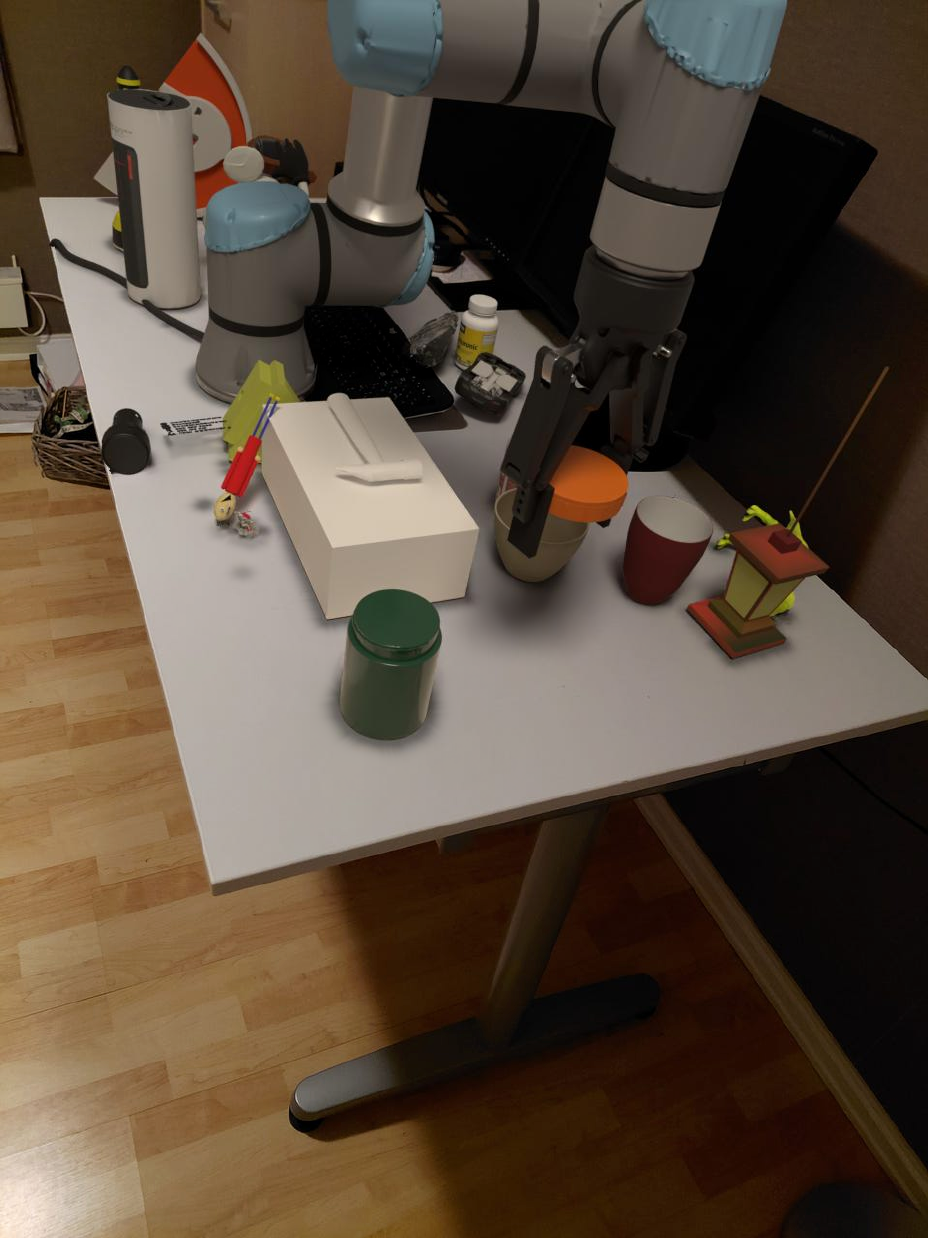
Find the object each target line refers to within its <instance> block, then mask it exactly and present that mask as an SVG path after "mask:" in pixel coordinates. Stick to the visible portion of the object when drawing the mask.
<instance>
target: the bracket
mask: <svg viewBox="0 0 928 1238" xmlns="http://www.w3.org/2000/svg"><path fill="white" fill-rule="evenodd" d="M269 393H271V394H273V395H275V397H279V398H280V399H281V400H280V401H278V402H277V404H281V403H299V402H301V401H299V399H298V398H297V396H296V394H295V393H294V391H293V390H292V388H291V386H290V385H289V383H288V382H287V380H286V378H285V375H284V367H283V364H281V363H280V362H278V361H276V360H274V361H272V362H271V364H270V365H268V364H266V363H264V362H262V361H260V360H258V362H257V363H256V365H255V367H254V368H253V370H252V372H251V373H250V375H249V376H248V378H247V380H246V381H245V383H244V385H243V386H242V388H241V389H240V391H239V393H238V394H237V396H236V398H235V399H234V401H233V403H230V406H229V407H228V409H227V411H226V412H225V414H224V416H223V417H222V421H224V420H225V421H226V420H227V421H226V422H225V421H224V422H222V427H225V429H222V440H223V441H225V442H226V443H227V450H228V451H227V452H228V453H227V456H228V461H230V462H232V461H233V459H234V457H235V455H236V453H237V448H238V447H243V449H244V447H245V445H246V443H247V440H248V438H249V436H250V435H253V433H254V430H255V428H256V426H257V424H258V422H259V419H260V417H261V415H262V405H264V404H267V402H268V400H269V398H270V396H269ZM275 397H274V398H272V400H271V402H270V404H274V403H275V401H276V400H275ZM228 426H230V427H231V428H227V427H228ZM261 431H262V422H261V424H260V426H259V428H258V430H257V433H256V435H255V437H257V438H259V436H260V433H261ZM261 440H262V438H261ZM241 454H242V453H241ZM257 455H258V456H260V458H261V459H260V461H259V462H258V464H262V443H261V446H260V448H259V450H258V452H257V454H256V456H257Z"/></svg>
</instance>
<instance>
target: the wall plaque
mask: <svg viewBox="0 0 928 1238" xmlns="http://www.w3.org/2000/svg"><path fill="white" fill-rule="evenodd" d="M157 91H158V92H163V93H169V94H173V95H177V96H180V97H183V98H185V99H186V100H188V101H189V102H190V103H191V114H192V133H193V152H194V172H195V191H196V210H197V218H203V213H204V211H205V209H206V208H207V205H208V202H209V200H210V199H211V197H212V196H213V195H214V194H215V193H217V192H218V191H220V190H222V189H223V188H226V187H228V186H231V185H235V184H239V183H238V182H235V181H233V180H232V179H230V178H229V177H228V176H227V174H226V173H225V171H224V166H223V162H224V160H225V157H226V155H227V154H228V153H229V151H230V150H232V149H233V148H236V147H239V146H247V147H248V145H247V143H248V142H249V141H250V140H252V139H254V134H253V133H254V132H253V127H252V123H251V122H252V121H251V117H250V114H249V111H248V107H247V105H246V102H245V98H244V97H243V95H242V92H241V89H240V88H239V85H238V84H237V82H236V80H235V78H234V76H233V74H232V73H231V70H230V69H229V67H228V66H227V64H226V63H225V61H224V60H223V58H222V57H221V56H220V54H219V53H218V52H217V50H216V49H215V48H214V47H213V45H212V44H211V43H210V41H209V40H208V39H207V38H206V37H205V36H204V35H203V33H202V32H200V33H199V34H198V35H197V36H196V38H195V40H194V41H193V42H192V43H191V45H190V46H189V48H188V49H187V51H185V53H184V55H183V56H181V58H180V60H179V61H178V62H177V64H176V65H175V66H174V68H173V69H172V71H171V72H170V73H169V75H168V76H167V77H166V79H165V80H164V81H163V83H162V84H161V86H160V87H159V88H158V89H157ZM93 180H95V181H97V183H99V184H100V185H102V186H103V187H104V188H105V189H107V190H109V191H110V192H112V193H113V194H114V195H116V196H117V197H118V194H117V184H116V175H115V165H114V155H113V151H112V152H110V154H109V155H108V157H107V159H106V160H105V161H104V162H103V164H102V165H101V167H100V168H99V169H98V171H97V172H96V173H95V175H94V177H93Z"/></svg>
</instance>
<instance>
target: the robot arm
mask: <svg viewBox="0 0 928 1238" xmlns="http://www.w3.org/2000/svg"><path fill="white" fill-rule="evenodd" d="M326 3H327V5H326V8H327V9H326V16H327V17H326V21H327V22H326V23H327V32H328V38H329V40H330V45H331V46H330V47H331V57H332V60H333V64H334V66H335V69H336V70H337V72H338V74H339V75H340V76H341V78H342V79H343V80H344V81H345V82H346V83H349V85H351V86H352V87H353V88H352V96H351V101H350V102H351V103H350V111H349V120H348V128H347V135H346V145H345V151H344V152H345V154H344V160H343V170H342V171H341V172H340V173H338V174H337V175H335V176H333V177H332V178H331V179H330V181H329V182H328V185H327V192H326V199H325V202H312V201H311V200H310V198H308V195H307V194H306V193H305V191H304V190H302V189H301V188H299V187H297V186H294V185H291V184H287V183H286V184H279V182H273V181H253V182H244V183H239V184H235V185H231V186H228V187H226V188H223V189H222V190H220V191H218V192H217V193H215V194H214V195H213V196H212V197H211V199H210V200H209V202H208V205H207V208H206V226H205V228H204V236H203V241H204V245H205V248H206V249H205V252H206V274H207V277H206V278H207V303H208V304H207V305H208V306H207V307H208V320H207V324H206V326H205V330H204V331H201V330H200V329H197V328H194V327H192V326H190V325H188V324H186V323H184V322H182V321H181V320H179V319H177V318H175V317H173V316H171V315H170V314H168V313H167V312H165V311H163V309H159V308H157V307H156V306H155V305H153V304H152V303H151V302H150V301H148V300H146V299H143V300H142V303H143V304H144V305H143V306H144V307H145V308H146V309H148V310H149V311H150V312H151V313H152V314H154V315H155V316H156V317H158V318H160V319H161V320H163V321H164V322H167V323H168V324H169V325H172V326H173V327H175V328H177V329H179V330H180V331H183V332H184V333H187V334H189V335H190V336H191V335H192V336H193V337H196V338H198V339H200V340H201V343H200V346H199V349H198V353H197V355H196V358H195V359H196V360H195V378H196V381H197V384H198V385H199V387H200V388H201V389H202V390H203V391H205V392H206V393H207V394H209V395H210V396H212V397H214V398H216V399H218V400H220V401H223V402H224V403H225V402H226V403H228V404H232V403H233V401H234V399H235V398H236V396H237V394H238V393H239V391H240V389H241V388H242V386H243V385H244V383H245V381H246V380H247V378H248V376H249V375H250V373H251V372H252V370H253V368H254V367H255V365H256V363H257V362H258V360H260V361H262V362H264V363H266V364H268V365H270V364H271V362H272V361H274V360H276V361H278V362H280V363H281V364H283V367H284V375H285V378H286V380H287V382H288V383H289V385H290V386H291V388H292V390H293V391H294V393H295V394H296V396H297V398H298V399H299V401H300V402H303V401H304V400H306V399H307V398H309V396H310V395H311V394H312V393H313V392H314V390H315V388H316V380H317V379H316V378H317V371H318V365H316V366H315V362H314V358H313V355H312V351H311V348H310V344H309V340H308V338H307V333H306V330H305V310H306V307H309V306H310V307H311V306H312V307H313V306H314V307H316V306H317V307H318V306H319V307H322V306H323V307H324V306H325V307H327V306H328V307H331V306H332V307H333V306H334V307H336V306H338V307H342V306H345V307H346V306H347V307H350V306H351V307H352V306H353V307H357V306H358V307H359V306H361V307H362V306H363V307H366V306H367V307H368V306H369V307H375V308H379V309H380V308H387V307H391V306H392V307H393V306H405V305H407V304H410V303H412V302H414V301H416V299H418V298H419V296H420V295H421V294H422V292H423V291H424V290H425V287H426V286H427V283H428V281H429V278H430V275H431V272H432V268H433V264H434V257H435V251H434V249H433V247H434V244H435V242H436V241H435V239H436V238H435V230H434V225H433V221H432V219H431V217H430V216H429V214H428V212H427V211H426V204H425V201H424V199H423V198H422V197H421V194H420V193H419V191H418V190H417V184H418V180H419V174H420V168H421V164H422V157H423V153H424V148H425V143H426V137H427V132H428V127H429V121H430V116H431V112H432V111H431V110H432V105H433V101H434V99H435V98H436V99H446V100H455V101H466V102H479V103H489V104H495V105H504V106H512V107H521V108H531V109H539V110H547V111H548V110H549V111H557V112H559V111H560V112H568V113H569V112H570V113H577V114H584V115H588V116H590V117H593V118H595V119H597V120H599V121H601V122H602V123H604V124H605V125H607V126H609V127H610V128H612V129H614V130H615V131H614V135H613V139H612V144H611V148H610V153H609V157H608V160H607V164H606V168H605V177H604V181H603V184H602V188H601V191H600V195H599V199H598V203H597V207H596V209H595V214H594V218H593V222H592V225H591V230H590V232H589V233H590V234H589V239H590V241H591V242H592V245H591V246H589V247H588V248H587V249H586V250H584V254H583V257H582V261H581V265H580V269H579V273H578V276H577V280H576V285H575V288H574V293H573V302H574V304H575V307H576V309H577V313H578V318H579V319H578V323H577V326H576V328H575V330H574V332H573V333H572V335H571V337H570V338H569V341H568V343H567V345H565V346H562V347H561V348H558V349H556V350H554V349H553V348H551V347H549V345H542V346H540V347H539V348H538V350H537V351H536V354H535V359H534V366H533V367H534V369H533V375H532V376H533V377H532V380H531V383H530V386H529V389H528V392H527V395H526V397H525V400H524V403H523V404H522V408H521V411H520V413H519V416H518V419H517V422H516V423H515V427H514V430H513V432H512V434H511V435H512V438H511V440H510V443H509V446H508V448H507V451H506V450H505V452H506V454H505V453H504V456H505V457H503V460H502V462H501V464H500V468H499V471H500V473H501V472H502V473H503V474H504V475H505V476H507V477H508V478H509V479H510V480H512V481H513V482H514V483H516V484H517V485H518V486H517V490H516V494H515V499H514V502H513V503H514V504H513V506H512V514H513V518H512V522H511V526H510V530H509V534H508V538H507V541H509V542H510V543H511V544H512V545H513V546H515V547H516V548H517V549H518V550H519V551H521V552H522V553H523V554H524V555H525V556H527V557H528V558H529V559H530V558H532V557H535V556H536V554H537V550H538V547H539V543H540V540H541V536H542V533H543V529H544V526H545V522H546V519H547V515H548V512H549V508H550V505H551V501H552V498H553V494H554V491H555V488H554V487H553V486H551V485H550V484H549V483H550V481H551V479H552V477H553V476H554V474H555V472H556V470H557V469H558V467H559V465H560V463H561V462H562V460H563V458H564V456H565V455H566V453H567V451H568V450H569V448H570V446H571V445H573V443H574V441H575V439H576V437H577V435H578V434H579V433H580V430H581V429H582V428H583V425H584V424H585V422H586V420H587V419H588V416H589V415H590V413H591V412H594V411H597V410H599V409H600V407H601V406H602V405H603V402H604V401H605V399H606V397H607V395H609V397H608V399H609V437H610V438H609V441H610V444H612V445H613V447H612V446H610V445H608V444H606V445H602V446H601V447H600V450H599V453H600V454H602V455H604V456H606V457H608V458H609V459H611V460H612V461H613V462H615V463H616V464H617V465H618V466H619V467H621V469H622V470H623V471H624V472H625V474H626V476H627V477H628V474H629V470H630V468H631V465H632V463H633V459H634V460H635V461H637V462H638V463H640V464H642V463H644V462H645V461H646V460H647V458H648V456H649V454H650V451H648V450H647V449H646V448H644V446H645V445H647V446H649V447H652V446H653V445H655V444H656V443H657V441H658V439H659V435H660V431H661V427H662V423H663V420H664V415H665V411H666V407H667V403H668V399H669V394H670V390H671V387H672V386H671V385H672V382H673V377H674V373H675V369H676V365H677V362H678V360H679V357H680V356H681V353H682V352H683V348H684V347H685V344H686V342H687V339H688V335H687V333H685V332H683V331H682V330H679V329H678V327H679V326H680V324H681V321H682V318H683V316H684V313H685V310H686V307H687V304H688V302H689V298H690V295H691V292H692V289H693V287H694V284H695V281H696V279H695V276H694V272H693V270H695V269H697V268H699V267H700V266H701V265H702V263H703V260H704V257H705V254H706V251H707V248H708V245H709V242H710V239H711V236H712V233H713V230H714V227H715V224H716V221H717V218H718V215H719V212H720V208H721V206H722V202H723V199H724V195H725V193H726V189H727V187H728V185H729V182H730V179H731V176H732V174H733V171H734V168H735V165H736V162H737V160H738V156H739V153H740V151H741V148H742V146H743V143H744V140H745V137H746V134H747V131H748V128H749V126H750V123H751V120H752V117H753V114H754V111H755V109H756V106H757V103H758V101H759V97H760V95H761V92H762V88H763V87H764V85H765V83H766V81H767V80H768V79H769V75H770V74H771V70H772V68H771V67H770V66H771V63H772V59H773V57H774V52H775V49H776V46H777V42H778V39H779V34H780V32H781V28H782V24H783V21H784V18H785V14H786V10H787V6H788V0H327V1H326ZM48 246H49V247H51V248H56V247H57V249H58V250H59V252H60V253H61V254H62V255H63V256H64V258H66V259H68V260H69V261H72V262H74V263H76V264H78V265H81V266H84V267H86V268H89V269H91V270H95V271H97V272H99V273H101V274H103V275H105V276H107V277H108V278H110V279H112V280H115V281H117V282H118V283H120V284H122V286H124V287H126V288H127V279H126V277H124V276H123V275H122V274H119V273H117V272H116V271H114V270H111V269H110V268H107V267H106V266H104V265H101V264H98V263H96V262H93V261H91V260H88V259H85V258H83V257H80V256H78V255H76V254H74V253H72V252H70V251H69V250H68V249H67V248H66V247H65V245H64V243H63V242H62V241H61V239H58V238H52V239H51V240H50V241H49V243H48ZM576 381H577V383H578V384H579V385H580V386H582V387H584V388H585V390H588V391H589V392H590V393H589V394H588V393H587V392H586V391H583V390H582V389H581V388H579V387H578V386H577V385H576ZM644 422H645V423H647V425H645V424H644ZM539 468H540V471H539ZM612 518H613V517H612ZM612 518H610V519H607V520H604V521H600V522H595V523H596V524H597V525H598V526H599V527H601V528H602V529H605V528H607V527H610V524H611V521H612Z"/></svg>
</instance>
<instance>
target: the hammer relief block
mask: <svg viewBox="0 0 928 1238" xmlns="http://www.w3.org/2000/svg"><path fill="white" fill-rule="evenodd" d="M273 405H274V404H269V406H268V408H267V411H266V413H265V415H264V417H263V419H262V429H263V427H264V425H265V422H266V421H267V418H268V416H269V414H270V411H271V409H272V407H273ZM265 406H266V404H264V405H262V413H263V411H264V408H265ZM261 474H262V477H263V479H264V482H265V483H266V486H267V488H268V490H269V493H270V495H271V497H272V500H273V502H274V504H275V506H276V509H277V510H278V513H279V515H280V518H281V520H282V522H283V524H284V526H285V528H286V531H287V533H288V536H289V538H290V540H291V542H292V544H293V547H294V549H295V552H296V553H297V555H298V558H299V560H300V562H301V565H302V568H303V570H304V571H305V573H306V576H307V579H308V580H309V583H310V585H311V587H312V589H313V593H314V594H315V596H316V598H317V601H318V603H319V605H320V608H321V610H322V612H323V615H324V616H325V619H326V620H332V619H339V618H344V617H352V615H353V612H354V609H355V608H356V606H357V604H358V602H359V601H360V600H361V599H362V598H363V597H365V596H366V595H368V594H370V593H372V592H375V591H378V590H384V589H400V590H406V591H410V592H413V593H415V594H418V595H420V596H422V597H424V598H425V599H426V600H428V601H429V602H430V603H436V602H443V601H447V600H448V601H449V600H453V599H460V598H465V595H466V591H467V586H468V582H469V578H470V574H471V573H470V572H471V568H472V564H473V560H474V555H475V551H476V547H477V541H478V537H479V532H480V527H479V526H478V525H477V523H476V522H475V520H474V519H473V517H472V516H471V515H470V513H469V512H468V510H467V508H466V507H465V506H464V504H463V503H462V501H461V500H460V498H459V497H458V496H457V494H456V492H455V491H454V490H453V488H452V487H451V485H450V484H449V482H448V480H447V479H446V478H445V476H444V475H443V474H442V472H441V470H440V469H439V468H438V466H437V465H436V463H435V462H434V460H433V459H432V458H431V456H430V455H429V453H428V451H426V449H425V447H424V445H422V443H421V441H420V440H419V439H418V437H417V435H416V433H414V431H413V429H411V427H410V426H409V424H408V423H407V421H406V419H405V418H404V416H403V415H402V414H401V412H400V411H399V410H398V408H397V407H396V405H395V404H394V402H393V401H392V399H391V398H390V397H372V398H371V397H369V398H356V399H355V398H354V399H352V398H351V399H350V398H349V396H348V395H347V394H346V393H342V392H336V393H332V394H330V395H329V396H328V397H327V399H326V400H318V401H317V400H316V401H300V402H299V403H281V404H277V405H276V407H275V409H274V411H273V413H272V416H271V417H270V418H269V422H268V425H267V427H266V429H265V431H264V433H263V436H262V463H261Z"/></svg>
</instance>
